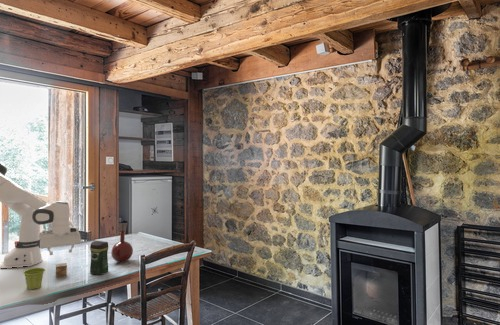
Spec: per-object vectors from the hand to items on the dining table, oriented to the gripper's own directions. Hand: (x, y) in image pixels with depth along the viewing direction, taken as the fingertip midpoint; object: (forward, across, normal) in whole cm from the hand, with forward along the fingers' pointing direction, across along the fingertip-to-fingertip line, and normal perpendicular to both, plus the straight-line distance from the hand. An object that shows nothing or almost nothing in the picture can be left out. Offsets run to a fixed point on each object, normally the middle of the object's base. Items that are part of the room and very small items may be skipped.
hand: (60, 253), depth 187 cm
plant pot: (+13, -13, -12) cm, 22 cm away
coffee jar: (+13, +19, -6) cm, 24 cm away
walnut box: (+13, 0, 0) cm, 13 cm away
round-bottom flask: (+13, +35, +9) cm, 38 cm away
